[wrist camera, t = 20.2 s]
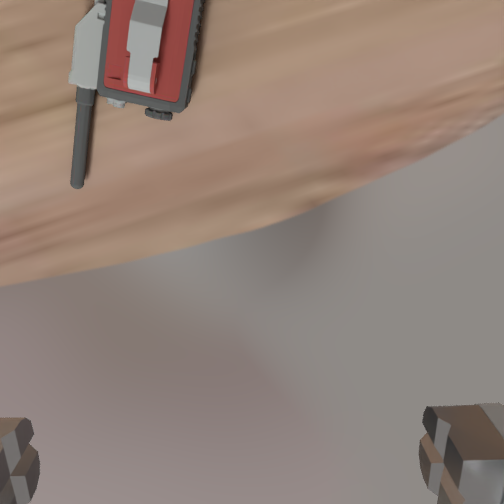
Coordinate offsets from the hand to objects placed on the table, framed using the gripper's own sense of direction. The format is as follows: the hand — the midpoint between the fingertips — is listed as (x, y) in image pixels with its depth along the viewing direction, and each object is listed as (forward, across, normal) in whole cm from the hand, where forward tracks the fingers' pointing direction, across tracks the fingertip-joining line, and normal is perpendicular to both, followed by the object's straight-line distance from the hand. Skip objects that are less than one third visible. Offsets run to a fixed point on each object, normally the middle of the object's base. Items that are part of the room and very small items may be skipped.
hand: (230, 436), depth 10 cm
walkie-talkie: (+32, +7, -8) cm, 33 cm away
